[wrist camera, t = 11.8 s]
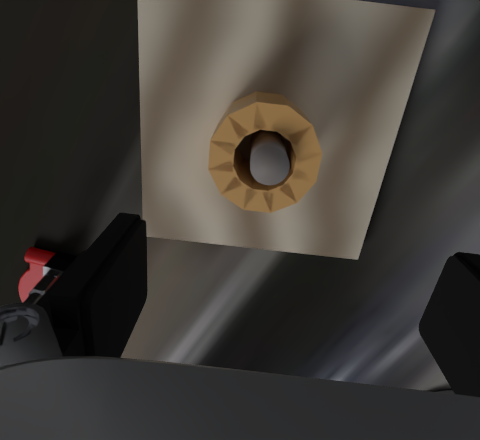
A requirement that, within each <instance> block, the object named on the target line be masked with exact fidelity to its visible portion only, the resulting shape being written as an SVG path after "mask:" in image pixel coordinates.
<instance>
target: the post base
mask: <svg viewBox="0 0 480 440" xmlns="http://www.w3.org/2000/svg"><path fill="white" fill-rule="evenodd" d="M434 14H435V10H432V9H424V8H416V7H408V6H400V5H391V4H383V3H375V2H367V1H359V0H138V34H139V77H140V119H141V162H142V204H143V220H145V221H146V232H147V237H157V238H166V239H175V240H184V241H193V242H202V243H211V244H220V245H229V246H238V247H248V248H257V249H266V250H275V251H284V252H293V253H302V254H311V255H320V256H330V257H339V258H348V259H357V260H358V258H359V254H360V251H361V248H362V245H363V241H364V238H365V235H366V232H367V229H368V225H369V222H370V219H371V216H372V213H373V209H374V206H375V203H376V200H377V197H378V193H379V190H380V187H381V184H382V180H383V177H384V174H385V171H386V168H387V164H388V161H389V158H390V155H391V152H392V148H393V145H394V142H395V139H396V136H397V132H398V129H399V126H400V123H401V120H402V116H403V113H404V110H405V107H406V103H407V100H408V97H409V94H410V91H411V87H412V84H413V81H414V78H415V75H416V71H417V68H418V65H419V62H420V59H421V55H422V52H423V49H424V46H425V42H426V39H427V36H428V33H429V30H430V26H431V23H432V20H433V17H434ZM254 92H265V93H273V94H282V95H283V96H284V97H285V98H287V99H288V100H289V101H290V102H292V103H293V104H294V105H295V106H297V107H298V108H299V109H300V110H302V112H303V113H304V114H305V116H306V117H307V118H308V120H309V121H310V122H311V124H312V125H313V127H314V130H315V133H316V136H317V139H318V142H319V145H320V148H321V151H322V157H321V162H320V167H319V171H318V176H317V180H316V182H315V184H314V185H313V186H312V187H311V188H310V189H309V190H308V191H307V193H306V194H305V195H304V196H303V197H302V198H301V199H300V200H299V202H298V203H296V204H293V205H291V206H288V207H285V208H283V209H280V210H277V211H275V212H272V213H267V212H258V211H249V210H243V209H241V208H240V207H238V206H237V205H236V204H234V203H233V202H231V201H230V200H228V199H227V198H225V197H224V196H222V195H221V194H220V192H219V190H218V188H217V186H216V184H215V182H214V180H213V178H212V176H211V174H210V172H209V170H208V164H209V149H210V140H211V137H212V135H213V133H214V131H215V129H216V127H217V124H218V123H219V121H220V120H221V118H222V117H223V115H224V114H225V112H226V111H227V110H228V108H229V107H230V105H231V104H232V102H234V101H236V100H239V99H241V98H243V97H245V96H247V95H249V94H252V93H254ZM287 142H288V140H287V139H286V138H285V137H284V136H282V135H281V134H280V133H278V132H276V131H267V130H258V131H256V132H254V133H251V134H249V135H247V136H245V137H244V138H243V139H242V141H241V142H240V143H239V145H238V146H237V147H238V149H239V151H240V153H241V155H242V157H243V158H245V159H246V160H247V161H249V162H250V170H251V174H252V176H253V177H254V179H255V180H256V181H258V182H259V183H261V184H264V185H275V184H278V183H280V182H281V181H283V180H284V179H285V178H286V176H287V175H288V172H289V168H290V164H289V160H288V156H287V153H286V148H287Z"/></svg>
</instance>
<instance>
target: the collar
mask: <svg viewBox="0 0 480 440" xmlns="http://www.w3.org/2000/svg"><path fill="white" fill-rule="evenodd" d="M258 130H267V131H276V132H278V133H280V134H281V135H282V136H284V137H285V138H286V139H287V140H288V142H287V148H286V153H287V156H288V160H289V164H290V168H289V172H288V175H287V176H286V178H285V179H284V180H283V181H281V182H280V183H278V184H275V185H264V184H261V183H259V182H258V181H256V180H255V179H254V177H253V176H252V174H251V170H250V162H249V161H247V160H246V159H245V158H243V157H242V155H241V153H240V151H239V149H238V147H237V146H238V145H239V143H240V142H241V141H242V139H243V138H244V137H245V136H247V135H249V134H251V133H254V132H256V131H258ZM321 157H322V151H321V148H320V145H319V142H318V139H317V136H316V133H315V130H314V127H313V125H312V124H311V122H310V121H309V120H308V118H307V117H306V116H305V114H304V113H303V112H302V110H300V109H299V108H298V107H297V106H295V105H294V104H293V103H292V102H290V101H289V100H288V99H287V98H285V97H284V96H283V95H282V94H273V93H265V92H254V93H252V94H249V95H247V96H245V97H243V98H241V99H239V100H236V101H234V102H232V104H231V105H230V107H229V108H228V110H227V111H226V112H225V114H224V115H223V117H222V118H221V120H220V121H219V123H218V124H217V127H216V129H215V131H214V133H213V135H212V137H211V140H210V149H209V164H208V170H209V172H210V174H211V176H212V178H213V180H214V182H215V184H216V186H217V188H218V190H219V192H220V194H221V195H222V196H224V197H225V198H227V199H228V200H230V201H231V202H233V203H234V204H236V205H237V206H238V207H240V208H241V209H243V210H249V211H258V212H267V213H272V212H275V211H277V210H280V209H283V208H285V207H288V206H291V205H293V204H296V203H298V202H299V200H300V199H301V198H302V197H303V196H304V195H305V194H306V193H307V191H308V190H309V189H310V188H311V187H312V186H313V185H314V184H315V182H316V180H317V176H318V171H319V167H320V162H321Z"/></svg>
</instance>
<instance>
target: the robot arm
mask: <svg viewBox="0 0 480 440" xmlns="http://www.w3.org/2000/svg"><path fill="white" fill-rule="evenodd" d="M146 298H147V232H146V221H145V220H141V218H140V216H139V215H136V214H127V213H119V214H118V215H117V216H116V217H115V219H114V220H113V221H112V222H111V223H110V224H109V225H108V227H107V228H106V229H105V230H104V231H103V232H102V233H101V235H100V236H99V237H98V238H97V239H96V240H95V242H94V243H93V244H92V245H91V246H90V247H89V248H88V250H87V251H83V252H82V253H80V254H79V255H78V257H77V258H76V259H75V260H74V261H73V262H72V263H71V264H70V266H69V267H68V268H67V269H66V270H65V271H64V272H63V273H62V275H61V276H60V277H59V278H58V279H57V280H56V281H55V282H54V284H53V285H52V286H51V287H50V288H49V289H48V290H47V291H46V293H45V294H44V295H43V296H42V297H41V298H40V299H39V300H38V302H37V303H36V304H32V303H13V304H8V305H3V306H0V440H480V255H479V254H471V253H462V252H458V253H455V254H454V255H453V256H450V257H449V258H448V259H447V261H446V263H445V266H444V268H443V270H442V273H441V275H440V277H439V279H438V282H437V284H436V286H435V289H434V291H433V293H432V295H431V298H430V300H429V302H428V305H427V307H426V309H425V311H424V314H423V316H422V318H421V321H420V323H419V332H420V335H421V337H422V338H423V340H424V342H425V343H426V345H427V347H428V349H429V350H430V352H431V354H432V355H433V357H434V359H435V361H436V362H437V364H438V366H439V367H440V369H441V371H442V373H443V374H444V376H445V378H446V379H447V381H448V383H449V385H450V386H451V388H452V390H445V391H438V392H431V391H422V390H413V389H404V388H395V387H387V386H378V385H369V384H360V383H352V382H343V381H334V380H325V379H317V378H308V377H299V376H290V375H282V374H273V373H264V372H255V371H246V370H237V369H227V368H218V367H209V366H200V365H191V364H181V363H172V362H163V361H153V360H140V359H127V358H120V357H121V355H122V353H123V351H124V348H125V346H126V344H127V342H128V339H129V337H130V335H131V333H132V331H133V328H134V326H135V324H136V322H137V320H138V317H139V315H140V313H141V311H142V308H143V306H144V304H145V301H146Z"/></svg>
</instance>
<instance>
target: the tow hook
mask: <svg viewBox="0 0 480 440" xmlns="http://www.w3.org/2000/svg"><path fill="white" fill-rule="evenodd" d="M76 258H77V257H74V256H70V255H67V254H63V253H58V252H57V253H54V252H50V251H46V250H42V249H38V248H35V247H30V248H29V249H28V250H27V252H26V254H25V261H26V262H29V263H30V268H29V269H28V270H27V271H26V272H25V273H24V274H23V276H22V277H21V278H20V281H19V285H18V289H19V296H20V298H21V300H22V302H23V303H32V304H36V303H37V302H38V300H39V299H40V298H41V297H42V296H43V295H44V294H45V293H46V291H47V290H48V289H49V288H50V287H51V286H52V285H53V284H54V282H55V281H56V280H57V279H58V278H59V277H60V276H61V275H62V273H63V272H64V271H65V270H66V269H67V268H68V267H69V266H70V264H71V263H72V262H73V261H74V260H75V259H76Z"/></svg>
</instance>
